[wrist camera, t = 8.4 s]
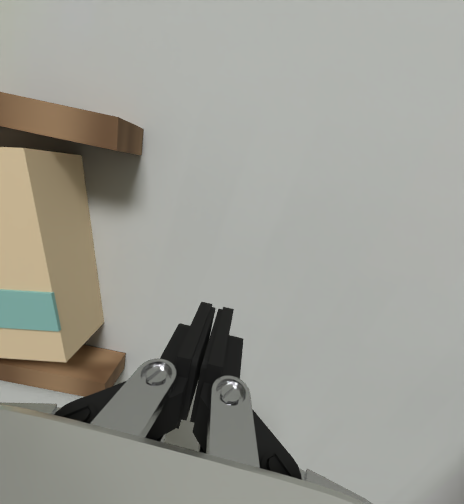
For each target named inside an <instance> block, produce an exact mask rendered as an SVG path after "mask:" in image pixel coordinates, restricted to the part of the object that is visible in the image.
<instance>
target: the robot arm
mask: <svg viewBox="0 0 464 504" xmlns="http://www.w3.org/2000/svg"><path fill="white" fill-rule="evenodd" d="M233 310H234V309H230V308H226V307H223V310H222V309H218V312H217V316H216V319H215V322H214V325H213V329H212V332H211V327H212V323H213V318H214V313H215V308H214V307H212V304H209V303H205V302H201V304H200V306H199V308H198V311H197V313H196V315H195V317H194V319H193V321H192V324H191V326H188V325H184V324H179V325H178V327H177V328H176V330H175V332H174V334H173V336H172V337H171V339H170V341H169V343H168V345H167V347H166V348H165V350H164V352H163V354H162V356H161V358H160V359H152V360H148V361H146V362H144V363H143V364H142V365H141V366H140V367H139V368H138V369H137V370H136V371H135V372H134V374H133V375H132V376H131V377H130V378H129V379H128V380H127V381H126V382H123V383H120V384H118V385H115V386H112V387H110V388H107V389H104V390H102V391H99V392H96V393H94V394H91V395H88V396H86V397H83V398H80V399H78V400H75V401H72V402H70V403H68V404H66V405H64V406H63V407H62V408H58V407H57V404H43V403H0V504H372V503H371V502H369V501H368V500H366V499H365V498H363V497H361V496H359V495H357V494H355V493H354V492H352V491H350V490H348V489H346V488H344V487H342V486H340V485H338V484H336V483H334V482H332V481H330V480H329V479H327V478H325V477H323V476H321V475H319V474H317V473H315V472H313V471H311V470H309V469H307V470H306V472H305V471H303V470H301V469H299V467H298V465H297V464H296V462H295V461H294V459H293V458H292V456H291V455H290V454H289V453H288V452H287V450H286V449H285V448H284V447H283V446H282V444H281V443H280V442H279V441H278V440H277V438H276V437H275V436H274V435H273V433H272V432H271V431H270V430H269V429H268V427H267V426H266V425H265V424H264V423H263V421H262V420H261V419H260V418H259V417H258V415H257V414H256V413H255V412H254V411H253V409H252V404H251V396H250V392H249V388H248V387H247V385H246V384H245V383H244V382H243V381H242V380H240V369H241V359H242V348H243V339H242V338H238V337H234V336H230V335H229V331H230V326H231V320H232V315H233ZM210 332H211V335H210ZM209 337H210V338H209ZM198 380H199V381H198ZM197 383H198V386H197ZM196 386H197V391H196V395H195V400H194V405H193V410H192V415H191V420H190V422H194V428H193V433H194V435H195V437H196V439H197V440H198V442H199V448H198V452H197V451H194V450H190V449H186V448H182V447H178V446H175V445H171V444H167V443H164V441H165V438H166V434H167V433H168V432H170V431H172V430H174V429H175V428H178V429H179V426H180V422H181V419H182V420H187V417H188V413H189V410H190V406H191V403H192V400H193V396H194V393H195V390H196Z"/></svg>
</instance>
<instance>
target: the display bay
mask: <svg viewBox="0 0 464 504" xmlns="http://www.w3.org/2000/svg"><path fill="white" fill-rule="evenodd" d="M0 126H2V127H7V128H12V129H16V130H21V131H26V132H31V133H35V134H40V135H45V136H49V137H54V138H59V139H64V140H68V141H73V142H78V143H82V144H87V145H92V146H97V147H101V148H106V149H111V150H115V151H120V152H125V153H130V154H135V155H141V153H142V141H143V129H142V128H140V127H138V126H136V125H134V124H132V123H130V122H127V121H125V120H123V119H121V118H119V117H115V116H110V115H105V114H101V113H96V112H91V111H87V110H82V109H77V108H73V107H68V106H63V105H59V104H54V103H49V102H45V101H40V100H35V99H31V98H26V97H21V96H17V95H12V94H7V93H3V92H0ZM124 366H125V353H122V352H117V351H112V350H107V349H102V348H97V347H92V346H87V345H82V346H81V347H80V349H79V350H78V351H77V352H76V353H75V354H74V355H73V356H72V357H71V358H70V359H69V360H68V361H67V362H52V361H38V360H23V359H8V358H0V380H3V381H8V382H13V383H18V384H23V385H28V386H33V387H39V388H44V389H49V390H54V391H59V392H64V393H69V394H74V395H80V396H85V397H86V396H88V395H91V394H94V393H96V392H99V391H102V390H104V389H107V388H110V387H112V386H113V385H114V384H115V382H116V380H117V379H118V377H119V376H120V374H121V372H122V371H123V369H124Z"/></svg>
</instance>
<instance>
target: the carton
mask: <svg viewBox="0 0 464 504" xmlns="http://www.w3.org/2000/svg"><path fill="white" fill-rule="evenodd" d="M103 323H104V318H103V311H102V303H101V296H100V289H99V281H98V274H97V266H96V259H95V251H94V244H93V237H92V229H91V222H90V214H89V207H88V199H87V192H86V184H85V177H84V170H83V162H82V155H74V154H66V153H59V152H51V151H43V150H36V149H28V148H14V147H0V358H8V359H23V360H38V361H52V362H67V361H68V360H69V359H70V358H71V357H72V356H73V355H74V354H75V353H76V352H77V351H78V350H79V349H80V347H81V346H82V345H83V344H84V343H85V342H86V341H87V340H88V339H89V338H90V337H91V336H92V335H93V334H94V333H95V332H96V331H97V330H98V329H99V327H100V326H101V325H102V324H103Z"/></svg>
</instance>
